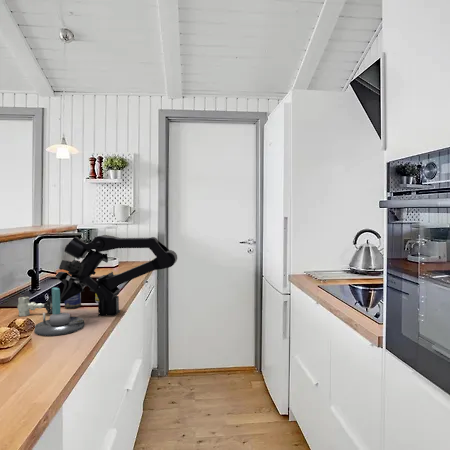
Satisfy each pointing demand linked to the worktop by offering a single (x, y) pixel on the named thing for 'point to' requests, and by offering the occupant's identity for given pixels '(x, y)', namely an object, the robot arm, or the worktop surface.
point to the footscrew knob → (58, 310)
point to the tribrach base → (59, 327)
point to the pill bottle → (73, 301)
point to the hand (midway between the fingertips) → (60, 301)
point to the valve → (32, 306)
